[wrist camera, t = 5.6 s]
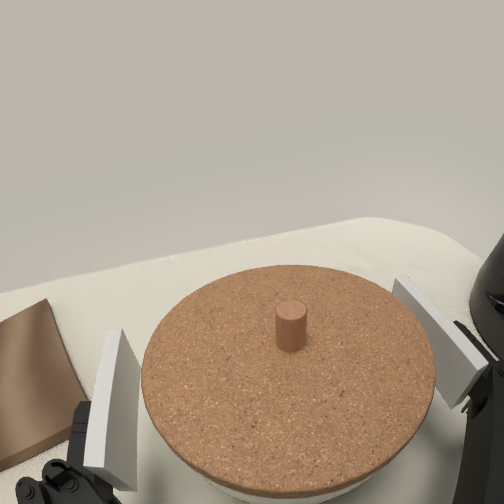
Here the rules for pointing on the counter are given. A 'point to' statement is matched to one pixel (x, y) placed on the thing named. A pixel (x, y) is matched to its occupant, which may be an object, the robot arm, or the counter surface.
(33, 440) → the walnut board
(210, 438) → the lidded jar
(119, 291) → the counter surface
